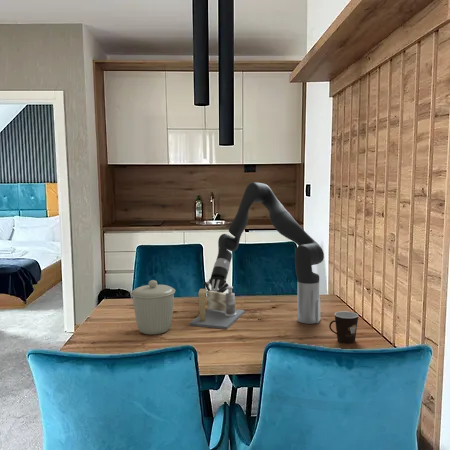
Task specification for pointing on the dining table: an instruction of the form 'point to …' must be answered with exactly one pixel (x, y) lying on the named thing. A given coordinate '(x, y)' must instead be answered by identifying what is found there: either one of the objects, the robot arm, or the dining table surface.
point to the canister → (153, 307)
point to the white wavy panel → (221, 301)
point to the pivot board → (218, 317)
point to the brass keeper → (202, 304)
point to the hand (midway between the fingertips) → (211, 301)
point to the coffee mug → (345, 326)
